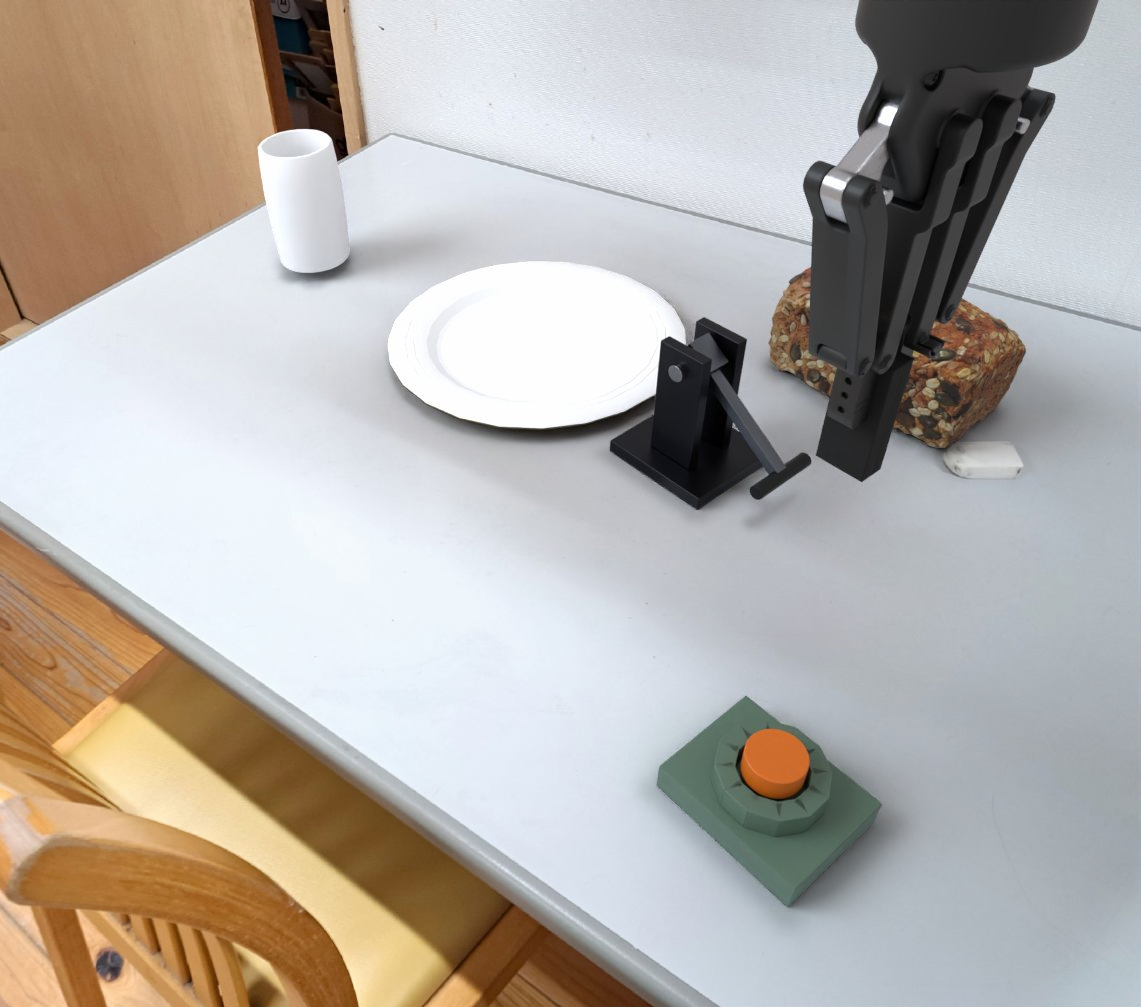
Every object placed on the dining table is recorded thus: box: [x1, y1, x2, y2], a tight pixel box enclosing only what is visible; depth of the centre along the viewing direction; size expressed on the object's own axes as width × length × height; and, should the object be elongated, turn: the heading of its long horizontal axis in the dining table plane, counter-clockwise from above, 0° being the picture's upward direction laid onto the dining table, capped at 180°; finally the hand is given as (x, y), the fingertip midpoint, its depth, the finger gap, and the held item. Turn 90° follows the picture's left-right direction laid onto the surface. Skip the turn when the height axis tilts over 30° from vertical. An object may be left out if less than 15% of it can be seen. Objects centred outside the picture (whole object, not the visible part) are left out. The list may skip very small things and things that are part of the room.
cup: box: [257, 128, 351, 274], centre depth 105 cm, size 8×8×14 cm
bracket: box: [609, 316, 763, 510], centre depth 78 cm, size 10×9×12 cm
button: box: [741, 729, 810, 799], centre depth 55 cm, size 4×4×2 cm
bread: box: [767, 266, 1027, 449], centre depth 84 cm, size 19×11×10 cm, turn 39°
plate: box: [387, 260, 687, 431], centre depth 94 cm, size 29×29×2 cm
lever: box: [686, 333, 812, 501], centre depth 75 cm, size 13×6×2 cm
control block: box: [656, 695, 883, 908], centre depth 57 cm, size 10×8×4 cm
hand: (847, 461), depth 47 cm, fingers closed
